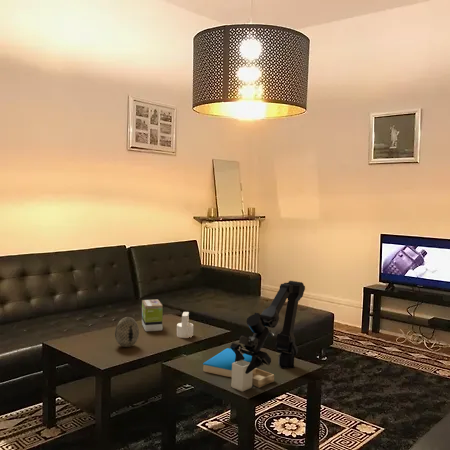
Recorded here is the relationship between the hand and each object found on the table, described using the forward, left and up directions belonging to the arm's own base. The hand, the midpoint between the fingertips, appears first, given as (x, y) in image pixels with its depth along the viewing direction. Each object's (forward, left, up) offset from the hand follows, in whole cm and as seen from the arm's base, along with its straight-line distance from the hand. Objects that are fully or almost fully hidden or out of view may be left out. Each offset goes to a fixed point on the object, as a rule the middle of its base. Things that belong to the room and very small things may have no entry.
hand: (240, 371), depth 199 cm
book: (+1, -25, -8) cm, 26 cm away
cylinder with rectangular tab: (+22, -72, -7) cm, 75 cm away
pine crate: (-8, -8, -7) cm, 13 cm away
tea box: (+41, -87, -7) cm, 96 cm away
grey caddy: (-1, -1, -7) cm, 7 cm away
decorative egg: (+51, -52, -7) cm, 73 cm away
